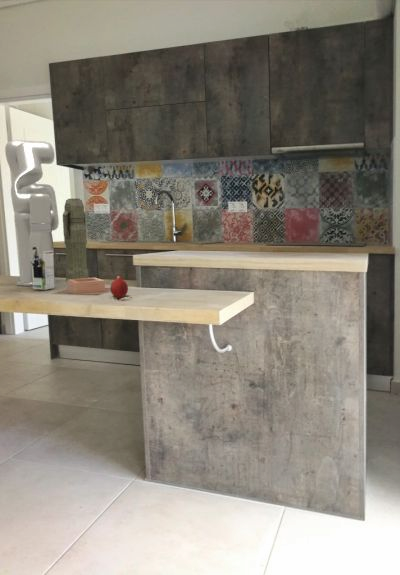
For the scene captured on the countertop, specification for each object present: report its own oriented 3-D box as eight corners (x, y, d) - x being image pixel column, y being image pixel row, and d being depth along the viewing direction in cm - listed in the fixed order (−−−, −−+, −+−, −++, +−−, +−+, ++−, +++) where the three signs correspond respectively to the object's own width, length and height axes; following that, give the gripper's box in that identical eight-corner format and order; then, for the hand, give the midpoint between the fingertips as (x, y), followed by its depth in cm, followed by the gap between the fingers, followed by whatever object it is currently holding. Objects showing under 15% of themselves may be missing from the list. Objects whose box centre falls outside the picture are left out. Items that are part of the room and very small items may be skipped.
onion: (120, 297, 185) (119, 274, 184) (131, 299, 182) (131, 275, 181) (107, 299, 181) (106, 276, 180) (118, 301, 177) (118, 277, 176)
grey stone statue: (59, 288, 211) (55, 198, 206) (76, 284, 222) (72, 199, 217) (78, 289, 208) (74, 198, 203) (94, 285, 219) (91, 198, 214)
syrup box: (32, 289, 198) (30, 250, 196) (43, 286, 203) (42, 248, 201) (44, 290, 195) (42, 250, 193) (55, 288, 201) (53, 249, 198)
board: (75, 290, 205) (75, 287, 205) (119, 291, 201) (119, 288, 200) (51, 297, 188) (51, 293, 188) (98, 298, 183) (97, 295, 183)
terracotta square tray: (67, 290, 196) (67, 279, 195) (95, 288, 201) (94, 277, 201) (76, 293, 187) (75, 282, 186) (105, 291, 192) (104, 280, 192)
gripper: (44, 226, 205) (46, 272, 208) (18, 229, 188) (21, 279, 191) (62, 227, 203) (64, 273, 206) (37, 229, 186) (39, 280, 189)
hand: (43, 275), depth 199 cm, fingers closed on syrup box, 6 cm apart
